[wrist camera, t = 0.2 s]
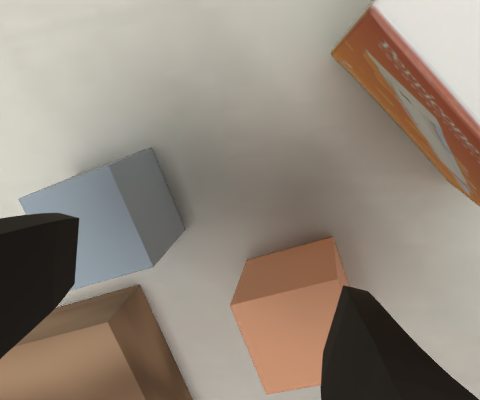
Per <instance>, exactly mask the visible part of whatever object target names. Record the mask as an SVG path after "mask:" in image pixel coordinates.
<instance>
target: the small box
mask: <svg viewBox="0 0 480 400" xmlns="http://www.w3.org/2000/svg"><path fill="white" fill-rule="evenodd" d="M331 55H332V56H333V57H334V58H335V59H336V60H337V61H338V62H339V63H340V64H341V65H342V66H343V67H344V68H345V69H346V70H347V71H348V72H349V73H350V74H351V75H352V76H353V77H354V78H355V79H356V80H357V81H358V82H359V83H360V84H361V85H362V86H363V87H364V88H365V89H366V90H367V91H368V93H369V94H370V95H371V96H372V97H373V98H374V99H375V100H376V101H377V102H378V103H379V104H380V106H381V107H382V108H383V109H384V110H385V111H386V112H387V113H388V114H389V115H390V116H391V117H392V119H393V120H394V121H395V122H396V123H397V124H398V125H399V126H400V127H401V128H402V129H403V130H404V132H405V133H406V134H407V135H408V136H409V137H410V138H411V139H412V141H413V142H414V143H415V144H416V145H417V146H418V147H419V148H420V149H421V151H422V152H423V153H424V154H425V155H426V156H427V157H428V158H429V160H430V161H431V162H432V163H433V164H434V165H435V166H436V167H437V169H438V170H439V171H440V172H441V173H442V174H443V175H444V177H445V178H446V179H447V180H448V181H449V182H450V183H451V184H452V185H453V186H454V187H456V188H457V189H458V190H460V191H461V192H462V193H464V194H465V195H466V196H467V197H468V198H470V199H471V200H472V201H474V202H475V203H476V204H477V205H479V206H480V0H373V1H372V2H371V3H370V4H369V5H368V6H367V7H366V8H365V10H364V11H363V12H362V13H361V14H360V15H359V16H358V18H357V19H356V20H355V21H354V22H353V24H352V25H351V26H350V27H349V29H348V30H347V31H346V32H345V34H344V35H343V36H342V37H341V39H340V40H339V41H338V42H337V43H336V45H335V47H334V48H333V49H332V51H331Z"/></svg>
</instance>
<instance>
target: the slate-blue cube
mask: <svg viewBox="0 0 480 400" xmlns="http://www.w3.org/2000/svg"><path fill="white" fill-rule="evenodd" d="M19 201H20V203H21V205H22V207H23V209H24V211H25V213H26V215H30V214H39V213H62V214H66V215H70V216H73V217H77V218H79V230H78V244H77V258H76V272H75V284H74V285H73V287H72V288H71V289H70V290H74V289H77V288H81V287H84V286H88V285H91V284H95V283H98V282H102V281H105V280H109V279H112V278H116V277H119V276H123V275H126V274H130V273H133V272H137V271H141V270H144V269H148V268H151V267H154V265H155V264H156V263H157V262H158V261H159V260H160V258H161V257H162V256H163V255H164V254H165V253H166V251H167V250H168V249H169V248H170V247H171V246H172V244H173V243H174V242H175V241H176V240H177V239H178V238H179V236H180V235H181V234H182V233H183V232H184V231H185V227H184V225H183V223H182V220H181V218H180V215H179V213H178V211H177V208H176V206H175V203H174V201H173V198H172V196H171V194H170V191H169V189H168V186H167V184H166V182H165V179H164V177H163V174H162V172H161V170H160V167H159V165H158V162H157V160H156V158H155V155H154V153H153V150H152V148H148V149H146V150H143V151H140V152H138V153H135V154H132V155H130V156H127V157H124V158H121V159H119V160H116V161H113V162H111V163H108V164H105V165H103V166H100V167H97V168H95V169H92V170H89V171H87V172H84V173H81V174H78V175H76V176H73V177H71V178H68V179H66V180H64V181H61V182H59V183H56V184H54V185H51V186H49V187H46V188H44V189H41V190H39V191H36V192H34V193H31V194H29V195H27V196H24V197H22V198H19ZM70 290H69V291H70Z"/></svg>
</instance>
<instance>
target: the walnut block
mask: <svg viewBox="0 0 480 400" xmlns="http://www.w3.org/2000/svg"><path fill="white" fill-rule="evenodd" d="M0 400H193V399H192V397H191V395H190V393H189V390H188V388H187V386H186V384H185V382H184V380H183V377H182V375H181V373H180V371H179V369H178V367H177V364H176V362H175V360H174V358H173V356H172V354H171V351H170V349H169V347H168V345H167V343H166V341H165V338H164V336H163V334H162V332H161V330H160V328H159V325H158V323H157V321H156V319H155V317H154V315H153V313H152V310H151V308H150V306H149V304H148V302H147V300H146V297H145V295H144V293H143V291H142V289H141V287H140V285H136V286H133V287H129V288H126V289H122V290H118V291H115V292H111V293H108V294H104V295H101V296H97V297H94V298H90V299H87V300H83V301H80V302H76V303H72V304H69V305H65V306H62V307H58V308H55V309H54V310H53V311H52V312H51V313H50V314H49V315H48V316H47V317H46V318H45V319H44V320H43V321H42V322H40V323H39V324H38V325H37V326H36V327H35V328H34V329H33V330H32V331H31V332H30V333H28V334H27V335H26V336H25V337H24V338H23V339H22V340H21V341H20V342H19V343H17V344H16V345H15V346H14V347H13V348H12V349H11V350H10V351H9V352H7V353H6V354H5V355H4V356H3V357H2V358H1V359H0Z"/></svg>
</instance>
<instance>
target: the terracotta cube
mask: <svg viewBox="0 0 480 400" xmlns="http://www.w3.org/2000/svg"><path fill="white" fill-rule="evenodd" d="M343 285H344V286H348V287H349V284H348V281H347V278H346V275H345V272H344V269H343V266H342V263H341V260H340V257H339V254H338V251H337V248H336V245H335V242H334V239H333V237H330V238H326V239H323V240H319V241H315V242H312V243H308V244H304V245H301V246H297V247H293V248H290V249H286V250H282V251H279V252H275V253H271V254H268V255H264V256H260V257H257V258H253V259H249V260H247V261H246V264H245V267H244V269H243V272H242V275H241V277H240V280H239V283H238V285H237V288H236V291H235V293H234V296H233V299H232V301H231V304H230V307H231V309H232V312H233V314H234V316H235V319H236V321H237V324H238V326H239V329H240V331H241V334H242V336H243V339H244V341H245V343H246V346H247V348H248V351H249V353H250V356H251V358H252V361H253V363H254V365H255V368H256V370H257V373H258V375H259V378H260V380H261V383H262V385H263V388H264V390H265V392H266V395H267V394H273V393H278V392H284V391H289V390H295V389H300V388H306V387H311V386H317V385H321V373H322V358H323V350H324V347H325V344H326V340H327V337H328V334H329V330H330V327H331V324H332V321H333V317H334V314H335V311H336V307H337V304H338V301H339V297H340V294H341V291H342V287H343Z"/></svg>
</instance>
